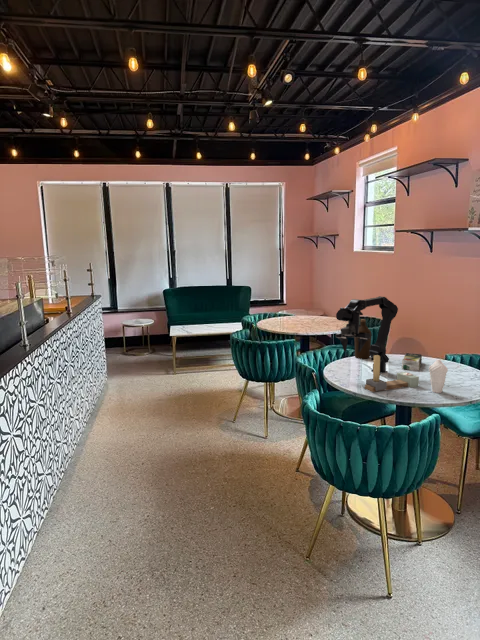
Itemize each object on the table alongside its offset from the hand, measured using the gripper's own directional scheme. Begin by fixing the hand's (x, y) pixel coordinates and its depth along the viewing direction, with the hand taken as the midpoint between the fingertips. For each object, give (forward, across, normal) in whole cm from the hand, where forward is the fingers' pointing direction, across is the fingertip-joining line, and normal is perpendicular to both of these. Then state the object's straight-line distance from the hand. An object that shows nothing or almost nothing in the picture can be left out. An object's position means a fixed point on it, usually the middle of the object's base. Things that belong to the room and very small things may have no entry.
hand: (351, 351), depth 225 cm
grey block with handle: (+18, +17, -1) cm, 25 cm away
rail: (+17, +19, +5) cm, 26 cm away
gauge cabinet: (+14, +23, +17) cm, 32 cm away
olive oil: (+1, -26, +47) cm, 54 cm away
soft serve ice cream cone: (+16, +38, +17) cm, 45 cm away
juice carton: (+5, +6, +51) cm, 51 cm away
